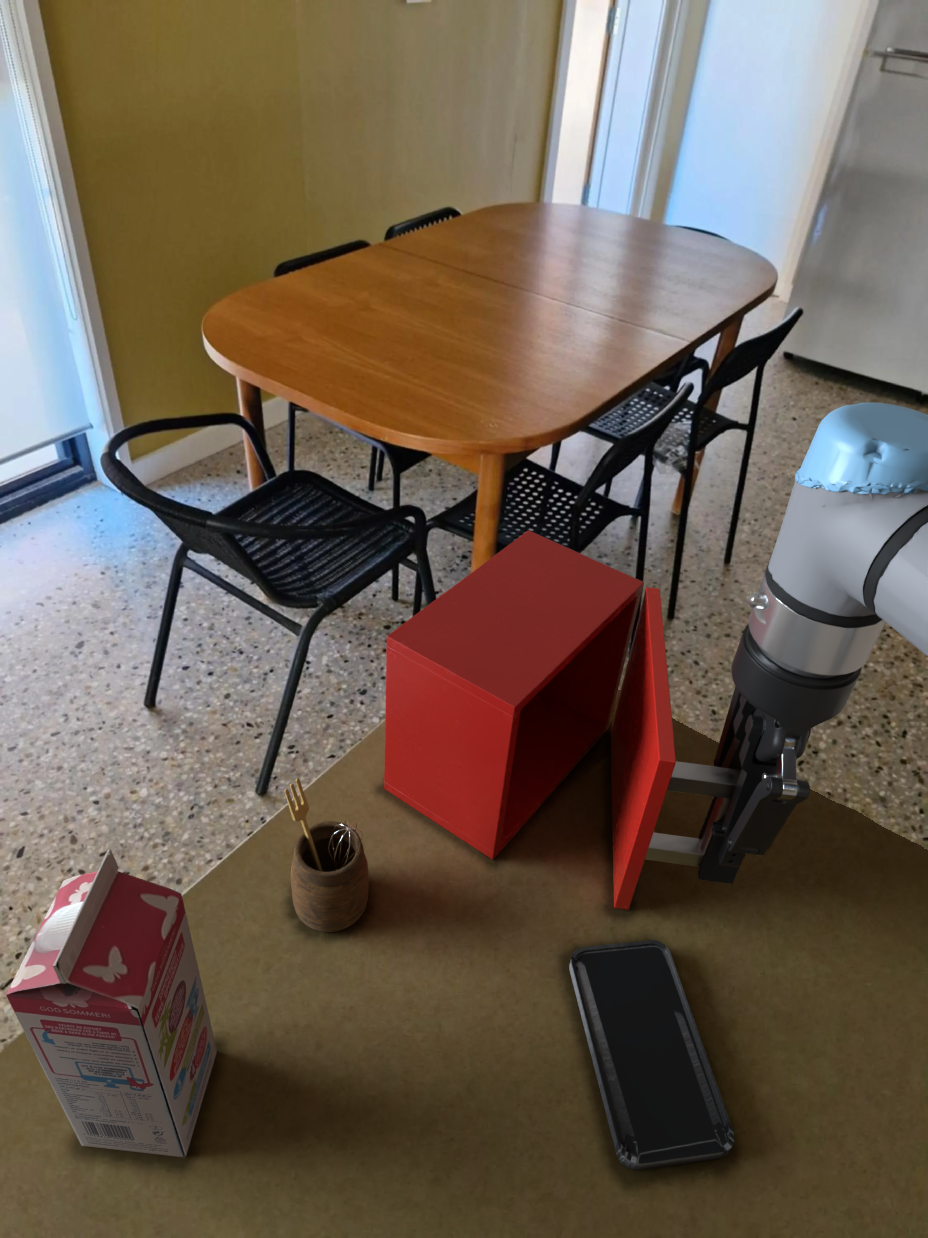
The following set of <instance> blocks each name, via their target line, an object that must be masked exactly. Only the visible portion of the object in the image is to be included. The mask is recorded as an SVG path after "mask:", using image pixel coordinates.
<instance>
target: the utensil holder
mask: <svg viewBox="0 0 928 1238" xmlns="http://www.w3.org/2000/svg"><path fill="white" fill-rule="evenodd" d="M295 784H296V787H295ZM295 784H294V783H290V784H289V788H290V791H289V789H288V788H285V789H284V796H285V798H286V801H287V805H288V808H289V811H290V815H291V819H292V820H293V821H294V822H300V824H301V826H302V830H303V831H302V833H301V834H300V835H299V836H298V838H297V840H296V842H295V845H294V849H293V859H292V862H291V867H290V886H291V887H290V888H291V896H292V898H291V899H292V904H293V908H294V911H295V913H296V915H297V917H298V918H299V920H300V921H301V922H302V923H303V924H305V926H307V927H309V928H310V929H312V930H315V931H318V932H322V933H333V932H340V931H342V930H345V929H347V928H349V927H350V926H352V925H354V924H355V923H356V922H357V921H358V920H359V919H360V918H361V916H362V915H363V913H364V912H365V910H366V907H367V903H368V900H369V879H370V877H369V863H368V859H367V856H366V853H365V849H364V845H363V836H364V834H363V832H362V830H360V829H359V828H357V827H358V824H357V823H356V822H355V823H353V824H351V825H350V824H349V821H348V820H345V821H344V823H343V822H339V821H333V820H331V821H329V820H328V821H320V822H317V823H315V824H313V825H311V826H309V825H308V821H307V818H306V817H307V815H308V813H309V810H310V807H309V806H310V805H309V803H308V800H307V798H306V795H305V792H304V789H303V786H302V783H301V780H300V778H298V777H297V778H296V779H295ZM296 788H297V790H298V792H297V790H296ZM290 792H291V793H292V796H291V794H290ZM292 798H293V800H292ZM293 801H294V803H293ZM294 804H295V805H294ZM346 823H347V824H346ZM354 825H355V827H353V826H354ZM357 831H359V832H360V833H361V836H360V835H359V833H358V832H357Z"/></svg>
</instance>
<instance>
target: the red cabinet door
mask: <svg viewBox="0 0 928 1238" xmlns="http://www.w3.org/2000/svg"><path fill="white" fill-rule="evenodd" d="M661 595H662V594H661V588H658V587H648V586H646V588H645V590H644V594H643V599H642V602H641V606H640V611H639V614H638V618H637V623H636V627H635V631H634V635H633V639H632V643H631V647H630V650H629V656H628V658H627V659H628V660H627V663H626V667H625V670H624V676H623V679H622V684H621V688H620V692H619V696H618V700H617V704H616V708H615V712H614V716H613V721H612V723H611V728H610V757H611V761H610V762H611V763H610V765H611V807H612V808H611V811H612V812H611V813H612V814H611V815H612V816H611V817H612V819H611V820H612V866H613V867H612V869H613V871H612V873H613V874H612V875H613V876H612V877H613V908H614V909H621V910H626V911H628V910H629V909H630V907H631V904H632V901H633V897H634V894H635V891H636V888H637V886H638V881H639V879H640V875H641V873H642V869H643V867H644V863H645V860H647V861H654V862H662V863H669V864H675V865H676V864H677V865H681V866H682V865H683V866H690V867H698V868H699V866H700V863H701V861H702V858H703V856H704V853H705V851H706V848H707V846H708V843H709V841H710V838H711V836H712V823H713V821H716V822H717V820H722V821H724V818H725V815H726V813H727V810H728V807H729V804H730V801H731V798H732V795H733V792H734V790H735V787H736V784H737V781H738V778H739V775H740V772H741V771H740V770H737V769H730V768H722V767H715V766H714V765H708V764H707V765H706V764H700V763H691V762H684V761H677V756H676V745H675V736H674V735H675V734H674V724H673V715H672V704H671V693H670V682H669V672H668V659H667V650H666V649H667V648H666V639H665V629H664V627H665V626H664V618H663V607H662V597H661ZM667 792H675V793H683V794H689V795H690V794H691V795H698V796H706V797H711V798H713V797H718V798H717V800H716V803H715V806H714V808H713V811H712V813H711V816H710V819H709V821H708V824H707V827H706V829H705V832H704V834H703V837H702V839H698V837H690V836H684V835H675V834H669V833H660V832H655V829H656V826H657V824H658V819H659V817H660V815H661V811H662V807H663V805H664V801H665V798H666V795H667Z"/></svg>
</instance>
